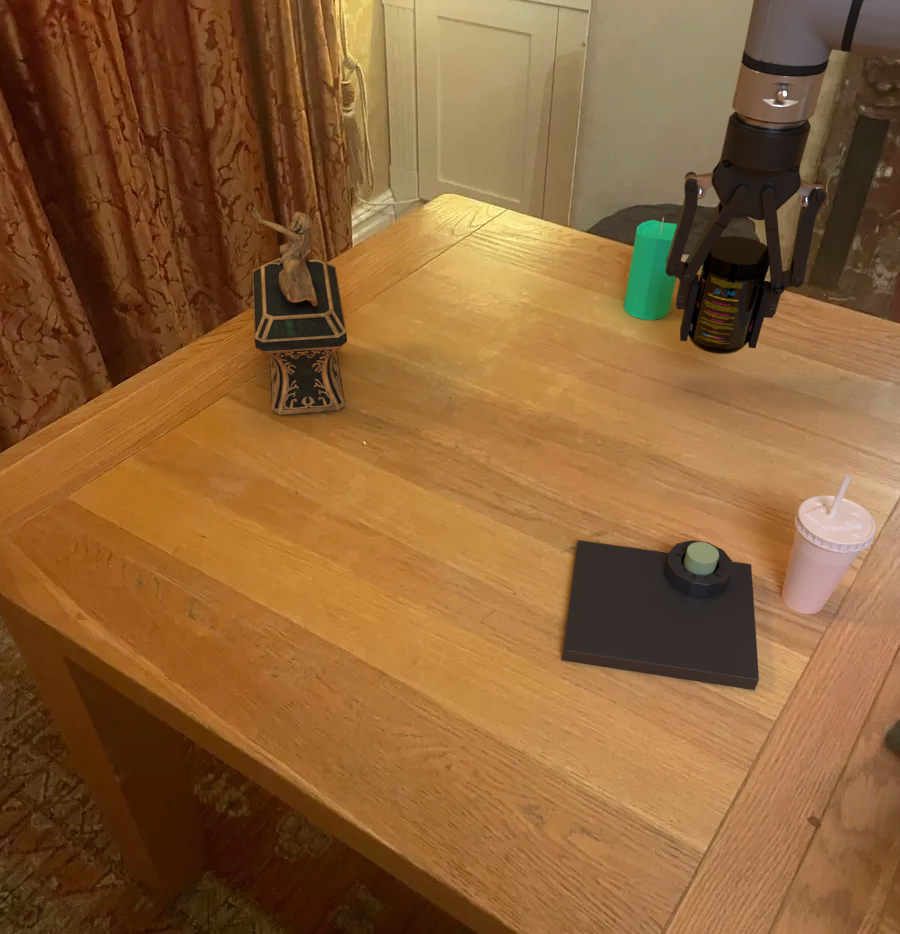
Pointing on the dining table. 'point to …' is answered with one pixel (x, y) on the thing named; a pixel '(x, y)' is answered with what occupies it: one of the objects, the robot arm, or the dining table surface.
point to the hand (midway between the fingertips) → (717, 338)
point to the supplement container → (728, 294)
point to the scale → (662, 615)
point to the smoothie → (824, 548)
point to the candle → (650, 272)
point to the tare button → (701, 558)
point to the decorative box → (299, 324)
